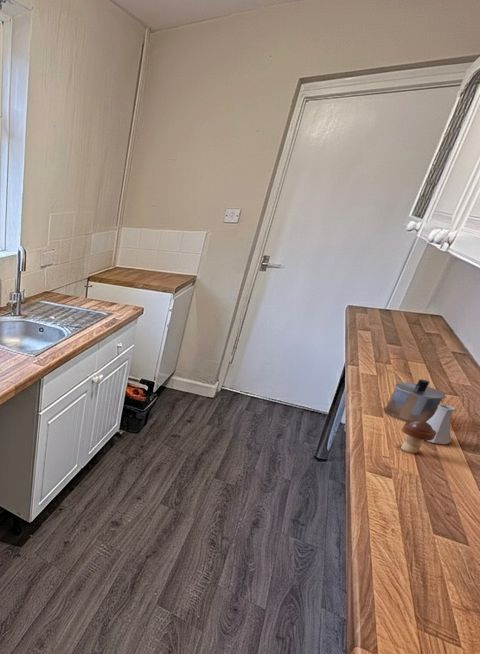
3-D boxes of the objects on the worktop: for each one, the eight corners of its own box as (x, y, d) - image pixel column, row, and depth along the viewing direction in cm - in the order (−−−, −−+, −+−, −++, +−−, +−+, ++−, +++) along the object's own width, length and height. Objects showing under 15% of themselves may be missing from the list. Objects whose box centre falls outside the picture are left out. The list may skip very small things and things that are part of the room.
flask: (405, 431, 120) (420, 401, 116) (427, 430, 120) (443, 400, 116) (434, 445, 113) (451, 414, 109) (456, 444, 114) (474, 412, 110)
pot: (425, 413, 130) (437, 389, 126) (434, 427, 122) (447, 401, 119) (382, 405, 135) (393, 381, 132) (388, 417, 128) (400, 393, 124)
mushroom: (421, 448, 112) (436, 420, 108) (427, 459, 107) (443, 430, 104) (391, 441, 115) (405, 414, 112) (396, 451, 111) (410, 423, 107)
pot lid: (438, 391, 127) (444, 379, 125) (449, 404, 119) (455, 391, 117) (390, 382, 132) (396, 371, 131) (397, 394, 124) (403, 382, 123)
